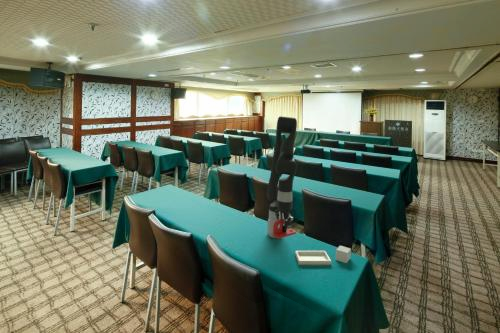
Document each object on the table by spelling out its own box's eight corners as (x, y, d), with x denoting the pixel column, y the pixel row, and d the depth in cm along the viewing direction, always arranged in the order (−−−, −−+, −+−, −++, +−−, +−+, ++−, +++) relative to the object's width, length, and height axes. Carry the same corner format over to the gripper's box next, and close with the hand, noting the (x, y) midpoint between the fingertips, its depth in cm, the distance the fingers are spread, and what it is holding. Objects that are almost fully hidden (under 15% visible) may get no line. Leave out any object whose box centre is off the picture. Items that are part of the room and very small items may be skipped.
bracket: (278, 238, 138) (279, 223, 137) (272, 235, 142) (273, 220, 140) (296, 233, 145) (297, 219, 143) (291, 230, 148) (291, 216, 147)
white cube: (335, 259, 150) (336, 249, 149) (339, 255, 155) (339, 245, 154) (346, 263, 147) (347, 252, 145) (350, 258, 151) (351, 248, 150)
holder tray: (295, 254, 154) (295, 250, 154) (324, 254, 155) (325, 250, 154) (299, 265, 144) (299, 260, 143) (330, 265, 144) (331, 260, 144)
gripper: (270, 196, 145) (269, 227, 148) (287, 204, 133) (286, 237, 137) (282, 194, 149) (280, 225, 152) (299, 201, 137) (297, 234, 141)
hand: (283, 231), depth 144 cm, fingers closed on bracket, 1 cm apart
